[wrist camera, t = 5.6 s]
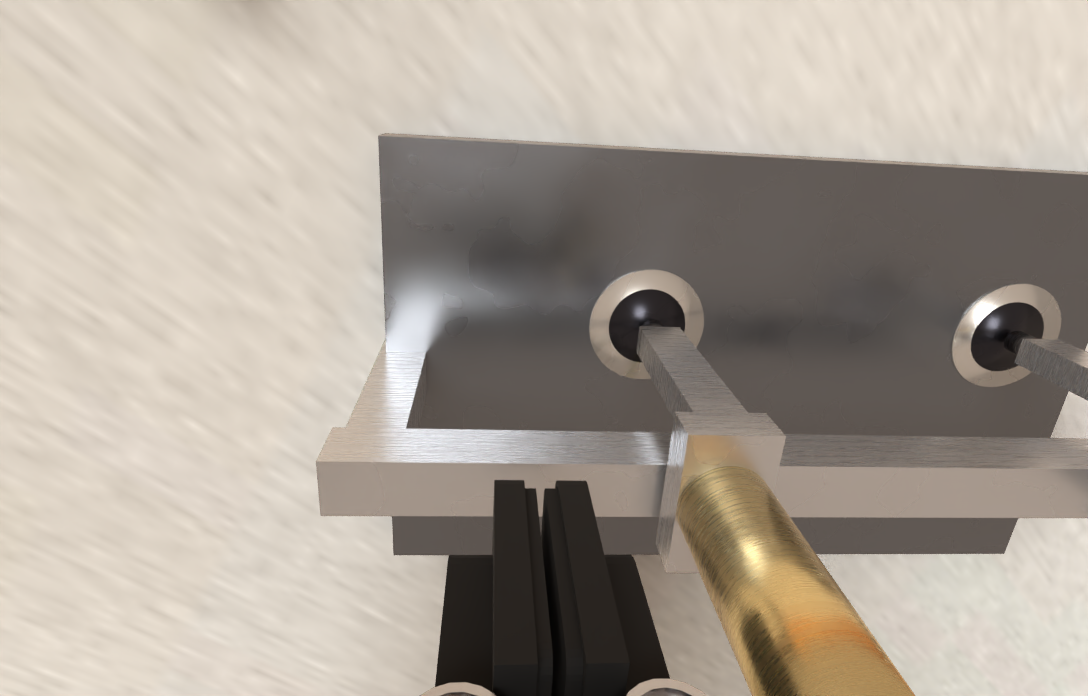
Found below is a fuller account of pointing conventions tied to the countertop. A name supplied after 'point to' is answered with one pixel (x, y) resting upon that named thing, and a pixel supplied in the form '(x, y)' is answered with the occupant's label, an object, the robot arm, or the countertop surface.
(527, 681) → the robot arm
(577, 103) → the countertop surface
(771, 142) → the countertop surface
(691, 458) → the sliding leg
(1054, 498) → the divider frame
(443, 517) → the hole plate
